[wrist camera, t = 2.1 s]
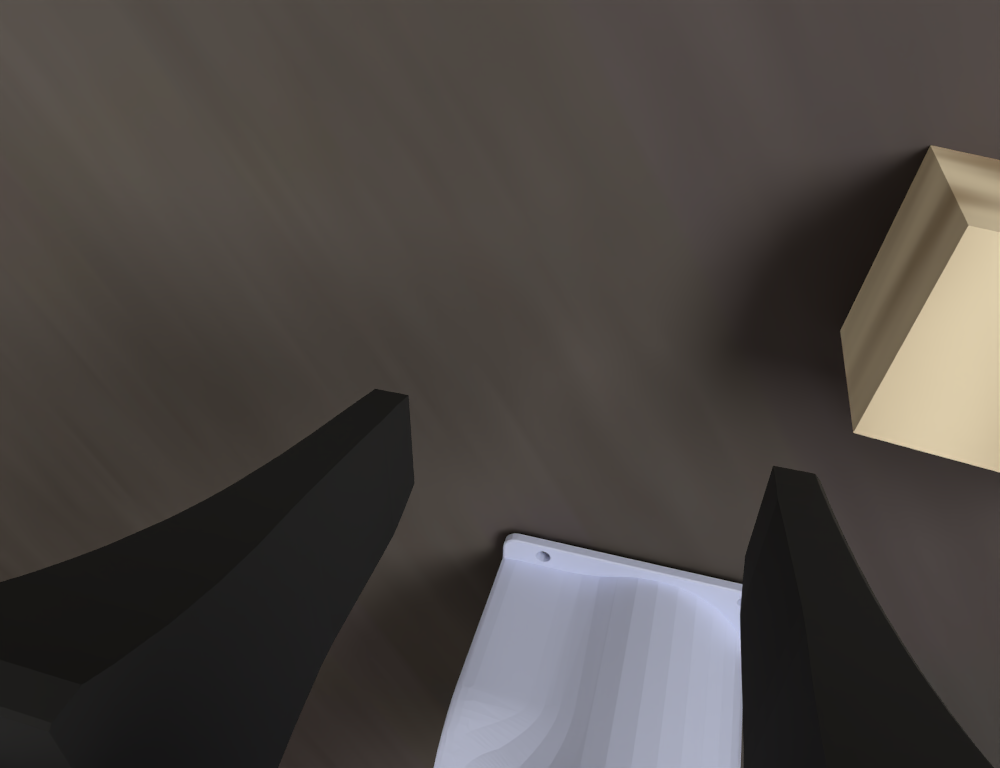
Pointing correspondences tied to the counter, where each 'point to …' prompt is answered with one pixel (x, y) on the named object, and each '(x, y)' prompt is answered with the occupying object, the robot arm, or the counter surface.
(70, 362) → the counter surface
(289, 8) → the counter surface
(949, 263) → the block
